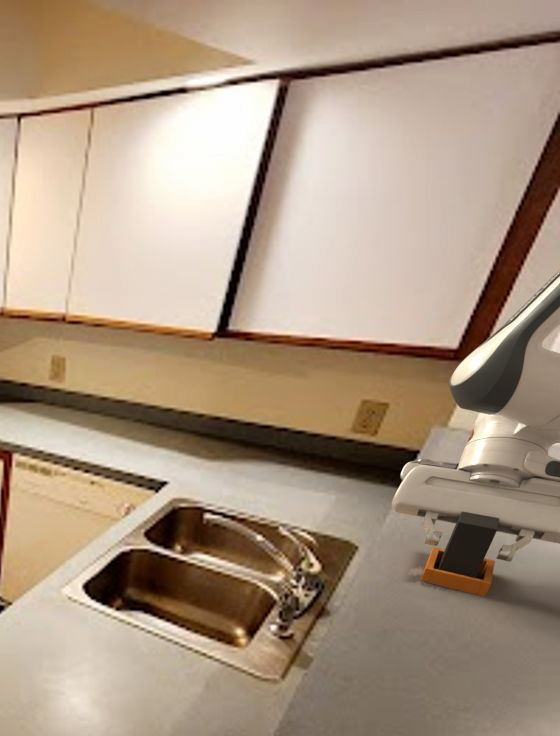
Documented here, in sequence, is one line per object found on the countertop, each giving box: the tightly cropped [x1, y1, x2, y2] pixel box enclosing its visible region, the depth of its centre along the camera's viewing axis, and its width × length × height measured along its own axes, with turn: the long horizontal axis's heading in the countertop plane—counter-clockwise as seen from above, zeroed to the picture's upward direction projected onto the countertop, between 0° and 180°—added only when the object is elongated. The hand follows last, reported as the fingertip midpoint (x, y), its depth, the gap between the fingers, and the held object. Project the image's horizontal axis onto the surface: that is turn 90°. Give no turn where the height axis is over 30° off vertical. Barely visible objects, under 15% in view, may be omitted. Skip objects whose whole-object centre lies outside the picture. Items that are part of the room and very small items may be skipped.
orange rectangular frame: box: [420, 547, 496, 597], centre depth 93 cm, size 8×11×4 cm
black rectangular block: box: [437, 511, 499, 578], centre depth 91 cm, size 4×6×10 cm, turn 135°
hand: (466, 551), depth 91 cm, fingers open, 6 cm apart
